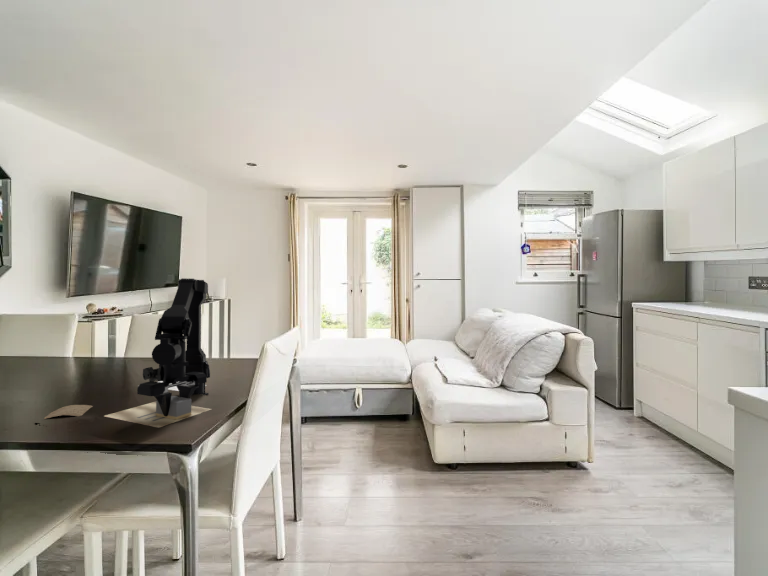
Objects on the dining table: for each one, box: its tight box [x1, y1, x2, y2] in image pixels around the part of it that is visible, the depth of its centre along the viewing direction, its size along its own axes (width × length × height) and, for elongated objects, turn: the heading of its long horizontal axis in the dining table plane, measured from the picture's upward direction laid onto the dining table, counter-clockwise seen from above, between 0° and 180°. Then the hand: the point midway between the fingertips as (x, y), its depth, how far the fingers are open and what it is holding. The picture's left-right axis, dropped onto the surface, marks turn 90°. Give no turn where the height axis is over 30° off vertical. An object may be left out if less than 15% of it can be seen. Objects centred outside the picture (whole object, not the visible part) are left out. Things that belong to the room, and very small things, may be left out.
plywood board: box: [104, 401, 213, 428], centre depth 123 cm, size 18×22×1 cm
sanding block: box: [155, 395, 192, 419], centre depth 121 cm, size 5×8×4 cm, turn 66°
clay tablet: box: [35, 404, 94, 424], centre depth 122 cm, size 14×10×3 cm
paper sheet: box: [158, 381, 208, 392], centre depth 155 cm, size 24×29×1 cm
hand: (173, 413), depth 121 cm, fingers closed on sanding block, 5 cm apart
